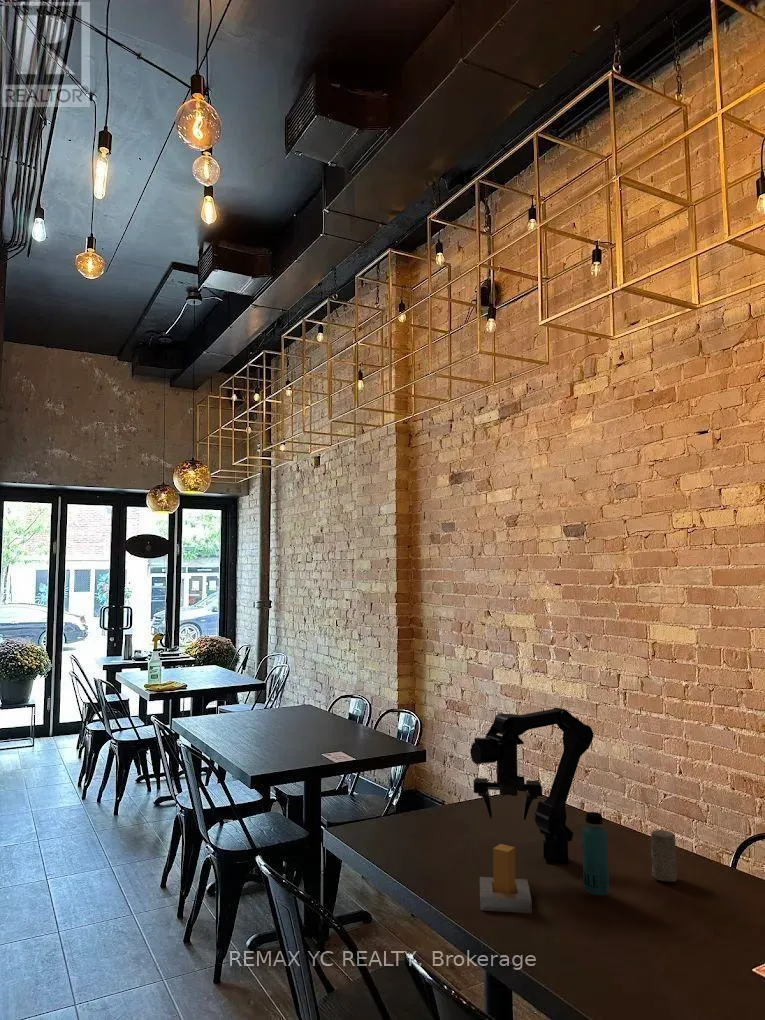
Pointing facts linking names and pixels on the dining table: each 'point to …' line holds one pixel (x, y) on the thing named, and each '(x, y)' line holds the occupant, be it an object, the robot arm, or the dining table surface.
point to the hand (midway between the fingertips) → (507, 819)
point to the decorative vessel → (663, 856)
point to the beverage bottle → (595, 856)
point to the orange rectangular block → (504, 869)
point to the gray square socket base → (505, 897)
